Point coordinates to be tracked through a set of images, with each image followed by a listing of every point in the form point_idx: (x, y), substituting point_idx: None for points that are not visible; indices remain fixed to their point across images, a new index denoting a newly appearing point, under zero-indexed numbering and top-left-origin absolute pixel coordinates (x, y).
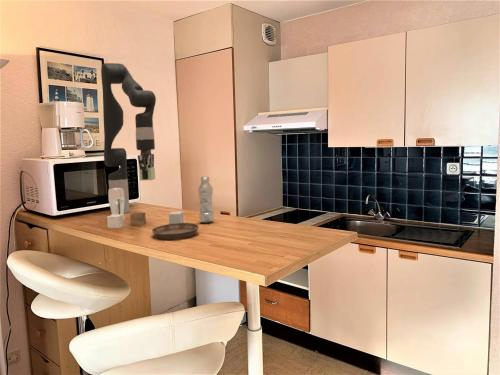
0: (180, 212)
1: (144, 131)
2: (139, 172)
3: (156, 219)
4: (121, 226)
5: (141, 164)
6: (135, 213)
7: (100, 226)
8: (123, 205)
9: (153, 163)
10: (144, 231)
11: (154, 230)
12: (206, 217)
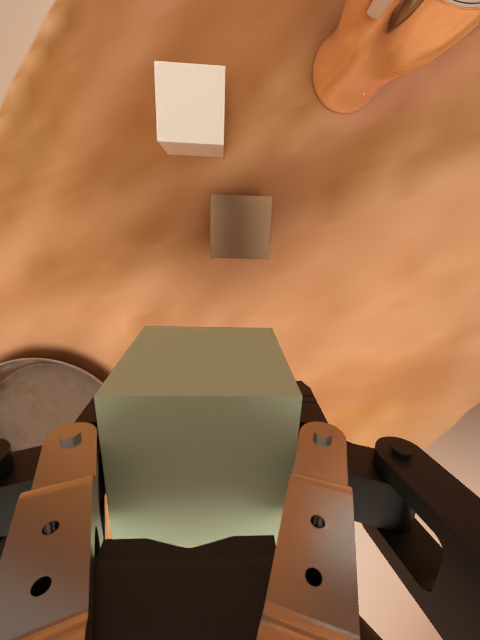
0: None
1: None
2: (118, 365)
3: (339, 276)
4: (194, 155)
5: (30, 504)
6: (243, 213)
7: (208, 20)
8: (378, 79)
9: (422, 566)
10: (103, 297)
11: (38, 360)
12: None
